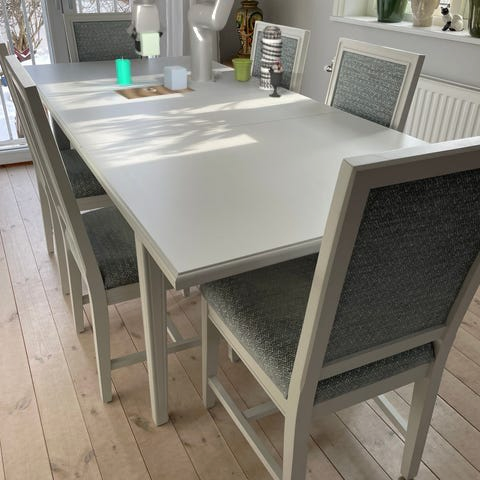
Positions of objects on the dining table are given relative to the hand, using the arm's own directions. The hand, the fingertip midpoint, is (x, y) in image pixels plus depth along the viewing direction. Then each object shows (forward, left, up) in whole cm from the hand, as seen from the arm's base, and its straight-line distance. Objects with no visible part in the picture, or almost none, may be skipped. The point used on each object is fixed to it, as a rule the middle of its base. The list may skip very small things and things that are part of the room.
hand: (147, 50), depth 201 cm
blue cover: (-12, 0, -16) cm, 20 cm away
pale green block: (0, 0, -1) cm, 1 cm away
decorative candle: (-50, +15, -17) cm, 55 cm away
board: (-2, +1, -17) cm, 17 cm away
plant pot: (-48, -3, -17) cm, 51 cm away
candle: (+4, -16, -17) cm, 24 cm away
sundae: (-44, +27, -17) cm, 54 cm away
